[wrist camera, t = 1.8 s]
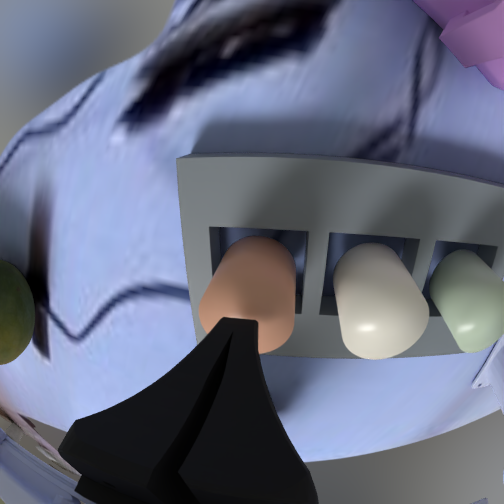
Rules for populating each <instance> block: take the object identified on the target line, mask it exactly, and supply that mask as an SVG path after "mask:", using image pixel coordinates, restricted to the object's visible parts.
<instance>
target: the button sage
mask: <svg viewBox="0 0 504 504" xmlns="http://www.w3.org/2000/svg"><path fill="white" fill-rule="evenodd" d="M429 292H430V296H431V298H432V300H433V302H434V304H435V305H436V307H437V309H438V310H439V312H440V314H441V315H442V317H443V319H444V321H445V322H446V324H447V326H448V328H449V329H450V331H451V333H452V335H453V337H454V339H455V341H456V342H457V344H458V346H459V348H460V349H461V350H462V351H464V352H467V353H475V352H479V351H482V350H484V349H486V348H488V347H489V346H491V345H492V344H494V343H495V342H496V341H497V340H498V339H499V338H500V337H501V336H502V335H503V334H504V282H503V281H502V279H501V278H500V277H499V276H498V275H497V274H496V273H495V272H494V271H493V270H492V269H491V268H490V267H489V266H488V265H487V264H486V263H485V262H484V261H483V260H482V259H481V258H480V257H479V256H477V255H476V254H475V253H474V252H473V251H471V250H467V249H461V250H457V251H454V252H452V253H450V254H448V255H447V256H446V257H445V258H443V259H442V260H441V261H440V263H439V264H438V265H437V267H436V268H435V270H434V272H433V274H432V276H431V279H430V284H429Z"/></svg>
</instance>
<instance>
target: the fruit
mask: <svg viewBox="0 0 504 504" xmlns="http://www.w3.org/2000/svg"><path fill="white" fill-rule="evenodd" d="M34 324H35V306H34V300H33V296H32V292H31V290H30V287H29V285H28V283H27V281H26V279H25V278H24V276H23V275H22V273H21V272H20V271H19V270H18V269H17V268H16V267H15V266H13V265H12V264H10V263H8V262H6V261H4V260H0V365H3V364H7V363H9V362H11V361H13V360H15V359H16V358H17V357H18V356H19V355H20V354H21V353H22V352H23V351H24V350H25V349H26V347H27V346H28V344H29V343H30V340H31V338H32V335H33V330H34Z"/></svg>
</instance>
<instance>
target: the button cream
mask: <svg viewBox="0 0 504 504" xmlns="http://www.w3.org/2000/svg"><path fill="white" fill-rule="evenodd" d="M333 286H334V291H335V297H336V302H337V308H338V314H339V320H340V327H341V333H342V339H343V342H344V344H345V346H346V347H347V349H348V350H349V351H350V352H352V353H353V354H355V355H356V356H359V357H361V358H365V359H374V360H377V359H385V358H389V357H393V356H395V355H398V354H400V353H402V352H404V351H405V350H407V349H408V348H410V347H411V346H412V345H413V344H414V343H415V342H416V341H417V340H418V339H419V338H420V337H421V336H422V334H423V332H424V331H425V329H426V327H427V324H428V320H429V307H428V304H427V302H426V300H425V298H424V296H423V295H422V293H421V291H420V290H419V288H418V286H417V285H416V283H415V281H414V280H413V278H412V277H411V275H410V273H409V272H408V270H407V269H406V267H405V266H404V264H403V263H402V261H401V259H400V258H399V256H398V255H397V254H396V252H395V251H394V250H393V249H391V248H390V247H388V246H386V245H384V244H381V243H375V242H369V243H363V244H360V245H357V246H355V247H353V248H351V249H350V250H348V251H347V252H346V253H345V254H344V255H343V256H342V257H341V258H340V259H339V261H338V262H337V264H336V266H335V269H334V272H333Z"/></svg>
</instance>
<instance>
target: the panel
mask: <svg viewBox="0 0 504 504" xmlns="http://www.w3.org/2000/svg"><path fill="white" fill-rule="evenodd" d="M176 164H177V179H178V193H179V205H180V216H181V227H182V237H183V246H184V255H185V264H186V272H187V279H188V287H189V294H190V301H191V308H192V315H193V321H194V328H195V334H196V340H197V345H198V344H199V343H200V342H201V341H202V340H203V339H204V337H205V336H206V335H207V333H206V331H205V330H204V328H203V326H202V324H201V322H200V318H199V304H200V301H201V299H202V297H203V295H204V293H205V291H206V289H207V287H208V285H209V283H210V281H211V279H212V278H213V276H214V274H215V272H216V270H217V268H218V266H219V264H220V262H221V251H220V233H219V227H237V228H260V229H280V230H299V231H307V237H306V250H305V262H304V274H303V285H302V295H296V294H295V318H294V328H293V331H292V334H291V335H290V337H289V338H288V340H287V341H286V342H285V343H284V344H283V345H281V346H280V347H278V348H277V349H275V350H272V351H270V352H266V353H262V354H264V355H277V356H292V357H311V358H348V359H365V358H361V357H359V356H356V355H355V354H353V353H352V352H350V351H349V350H348V349H347V347H346V346H345V344H344V342H343V339H342V333H341V327H340V320H339V314H338V308H337V302H336V297H335V296H322V290H323V283H324V275H325V267H326V259H327V250H328V241H329V232H333V233H348V234H363V235H377V236H391V237H404V238H406V239H405V244H404V249H403V254H402V258H401V261H402V263H403V264H404V266H405V267H406V269H407V270H408V272H409V273H410V275H411V277H412V278H413V280H414V281H415V283H416V285H417V286H418V288H419V290H420V291H421V293H422V290H423V287H424V284H425V280H426V277H427V274H428V270H429V266H430V262H431V259H432V255H433V251H434V247H435V242H436V240H439V241H450V242H461V243H471V244H480V246H479V250H478V253H477V256H479V257H480V258H481V259H482V260H483V261H484V262H485V263H486V264H487V265H488V266H489V267H490V268H491V269H492V270H493V271H494V272H495V273H496V274H497V275H498V276H499V277H500V278H501V279H503V277H504V184H500V183H496V182H492V181H488V180H484V179H480V178H475V177H471V176H466V175H462V174H457V173H452V172H447V171H442V170H436V169H431V168H425V167H419V166H413V165H406V164H399V163H392V162H384V161H376V160H367V159H358V158H348V157H336V156H323V155H307V154H286V153H200V154H188V155H185V156H182V157H179V158H176ZM425 300H426V302H427V304H428V307H429V320H428V324H427V327H426V329H425V331H424V332H423V334H422V336H421V337H420V338H419V339H418V340H417V341H416V342H415V343H414V344H413V345H412V346H411V347H410V348H408V349H407V350H405V351H404V352H402V353H400V354H398V355H395V356H393V357H389V358H404V357H422V356H436V355H448V354H458V353H467V352H464V351H462V350H461V349H460V348H459V346H458V344H457V342H456V341H455V339H454V337H453V335H452V333H451V331H450V329H449V328H448V326H447V324H446V322H445V321H444V319H443V317H442V315H441V314H440V312H439V310H438V309H437V307H436V305H435V304H434V302H433V300H432V299H425Z"/></svg>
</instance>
